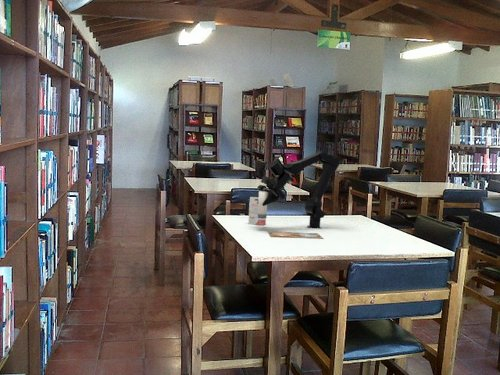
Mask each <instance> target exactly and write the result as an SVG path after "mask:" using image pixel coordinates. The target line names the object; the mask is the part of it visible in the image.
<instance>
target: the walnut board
mask: <svg viewBox="0 0 500 375" xmlns="http://www.w3.org/2000/svg"><path fill="white" fill-rule="evenodd" d="M274 232H275V231H267V233H268V235H269V237H270V238H284V239H287V238H289V239H314V240H315V239H317V240H324V237H322V236H321V235H320V234H319V233H318V232H317V233H316V232H312V233H313V234H317V235H318V237H314V238H310V237H302V236H299V234H300V233H301V232H291V231H289V232H286V231H285V233H290V234H291V236H288V237H280V236H274V235H272V233H274Z"/></svg>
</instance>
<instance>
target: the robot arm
mask: <svg viewBox="0 0 500 375" xmlns="http://www.w3.org/2000/svg"><path fill="white" fill-rule="evenodd" d="M317 162H320V163H321V165H322V166H321V167H322V172H321V174H320V178H319V180H318V183H317V184H316V187H315V189H314V192H313V195H312V196H311V197H307V198H306V201H305V203H304V210H305V212H306V215H307V216H308V217H309V222H308V224H309V225H307V227H308V228H309V229H318V230H319V229H320V230H321V229H322V228H323V227H321V219H322V218H324V217H325V215H326V214H325V212H324V210H322V207H323V203H322V202H323V201H322V199H323V197H324V194H325V192H326V190H327V187H328V184H329V182H330V179H331V177H332V175H334V174H333V173H335V172H336V171H337V169H338V168H339V166H340V160H339V159H338V158H337V157H334V156H331V155H328V154H326V153H325V152H323V151H316V152H315V153H313V154H311V155H308V156H307V157H304V158H302V159H300V160H297V161H295V160H294V161H290V162H286V163H285V164H283V163H282V161H281V160H280V158H275V160H272V161H271V162H269V163H268V165H267V168H268V169H269V170H270V171H271V173H272V174H273V176H275V177H273V176H270V177H269V176H264V175H263V176H262V178H261V180H260V183H261V184H259V185H258V186H257V188H256V189H257V190H258V192H259V191H267V192H268V197H267V198H266V200H265V201H264V202H263V204H262V205H263V206H265V205H267V206H268V205H269V204H272V203H275V202H277V201H283V202H284V200H285V199H286V194H285V193H284V191H283V190H285V186H286V185H287V183H289V182H290V183H294V176H295V175H298V174H300V173H301V172H302V171H303V170H304V169H305V168H307V167H309V166H311V165H314V164H316V163H317ZM291 175H294V176H291ZM276 176H277V177H276ZM262 184H263V185H262ZM257 204H258V202H257Z"/></svg>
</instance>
